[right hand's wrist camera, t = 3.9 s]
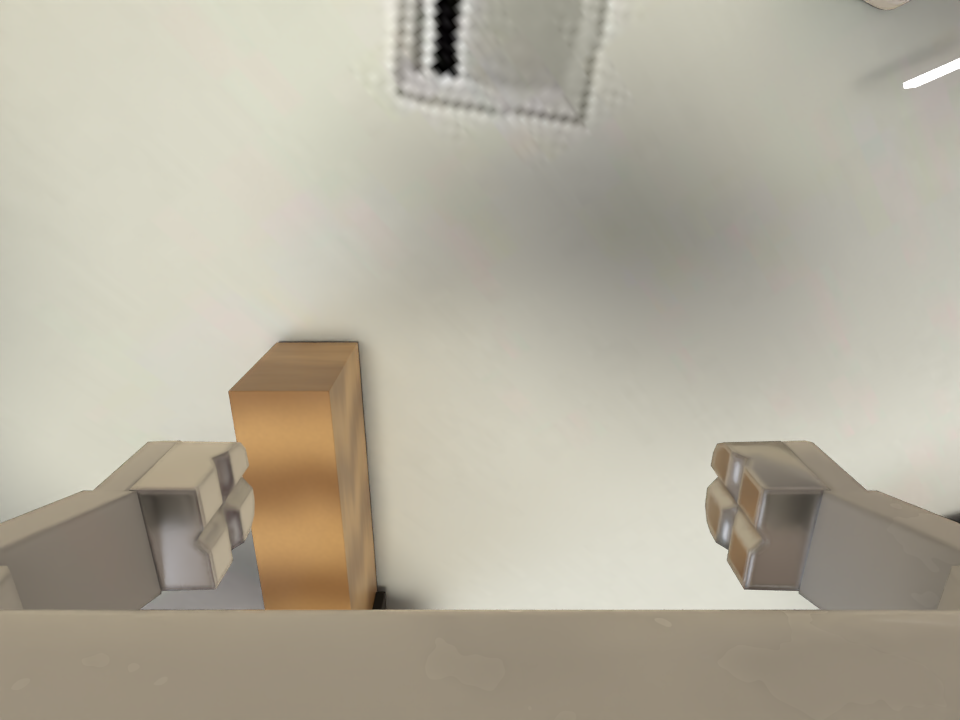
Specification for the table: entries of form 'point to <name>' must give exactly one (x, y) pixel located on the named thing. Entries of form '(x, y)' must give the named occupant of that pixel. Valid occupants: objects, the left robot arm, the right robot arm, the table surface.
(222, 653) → the right robot arm
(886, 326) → the table surface
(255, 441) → the bar
